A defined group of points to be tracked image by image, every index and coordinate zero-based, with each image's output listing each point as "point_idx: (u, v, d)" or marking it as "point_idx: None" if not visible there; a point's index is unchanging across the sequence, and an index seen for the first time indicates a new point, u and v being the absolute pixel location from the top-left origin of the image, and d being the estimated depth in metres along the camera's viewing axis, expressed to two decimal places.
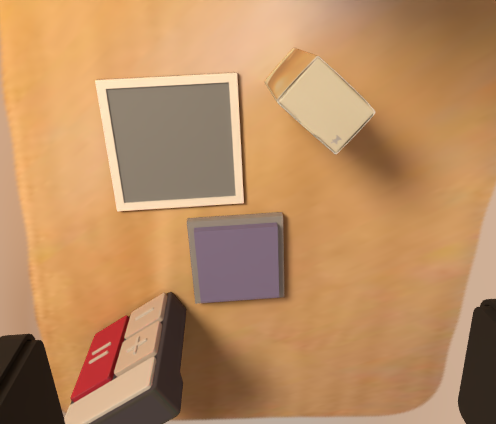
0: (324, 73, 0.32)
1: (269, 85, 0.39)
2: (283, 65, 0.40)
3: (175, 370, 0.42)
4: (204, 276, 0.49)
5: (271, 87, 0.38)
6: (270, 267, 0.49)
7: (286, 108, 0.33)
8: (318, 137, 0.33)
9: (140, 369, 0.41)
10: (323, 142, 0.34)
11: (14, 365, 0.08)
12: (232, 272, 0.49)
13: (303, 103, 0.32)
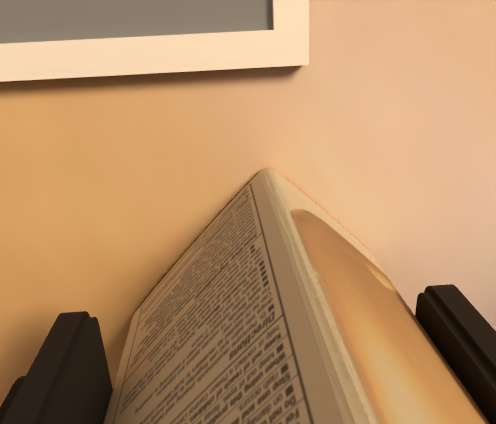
0: None
1: (306, 242, 0.08)
2: (360, 266, 0.10)
3: None
4: None
5: (332, 295, 0.06)
6: None
7: None
8: None
9: None
10: None
11: (76, 338, 0.09)
12: None
13: None
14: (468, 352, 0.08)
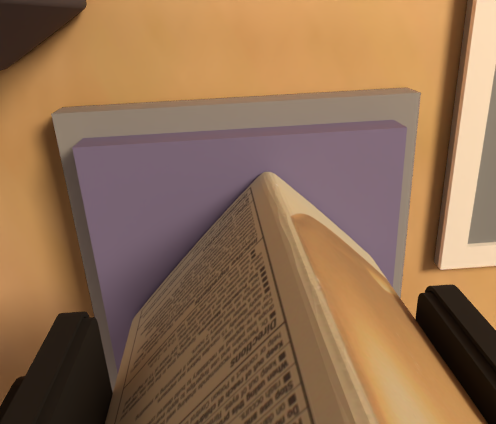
0: None
1: (307, 247, 0.08)
2: (361, 270, 0.10)
3: None
4: (205, 164, 0.12)
5: (334, 302, 0.06)
6: None
7: None
8: None
9: None
10: None
11: (76, 338, 0.09)
12: None
13: None
14: (469, 352, 0.08)
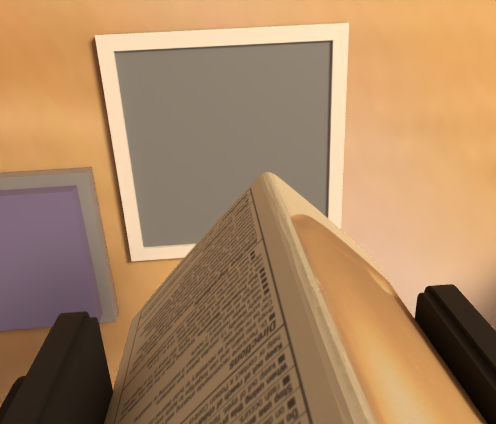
0: None
1: (307, 248, 0.08)
2: (361, 272, 0.10)
3: None
4: None
5: (334, 304, 0.06)
6: (15, 317, 0.28)
7: None
8: None
9: None
10: None
11: (76, 338, 0.09)
12: None
13: None
14: (468, 352, 0.08)
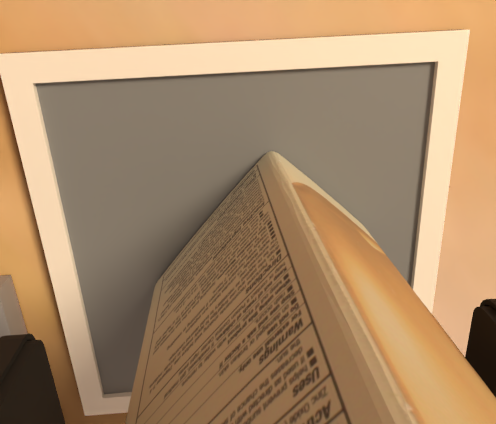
0: None
1: (305, 204, 0.10)
2: (352, 230, 0.12)
3: None
4: None
5: (326, 238, 0.08)
6: None
7: None
8: None
9: None
10: None
11: (14, 365, 0.08)
12: None
13: None
14: None
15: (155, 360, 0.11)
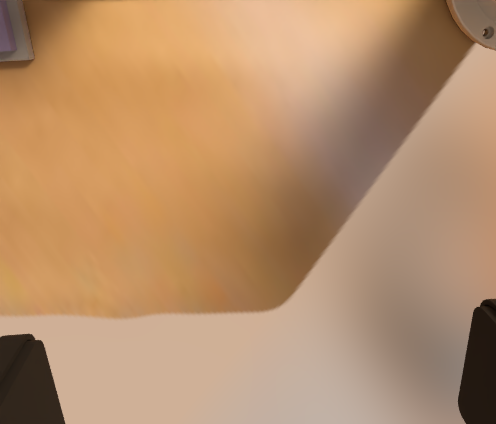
0: None
1: None
2: None
3: None
4: None
5: None
6: None
7: None
8: None
9: None
10: None
11: (14, 365, 0.08)
12: None
13: None
14: None
15: None
